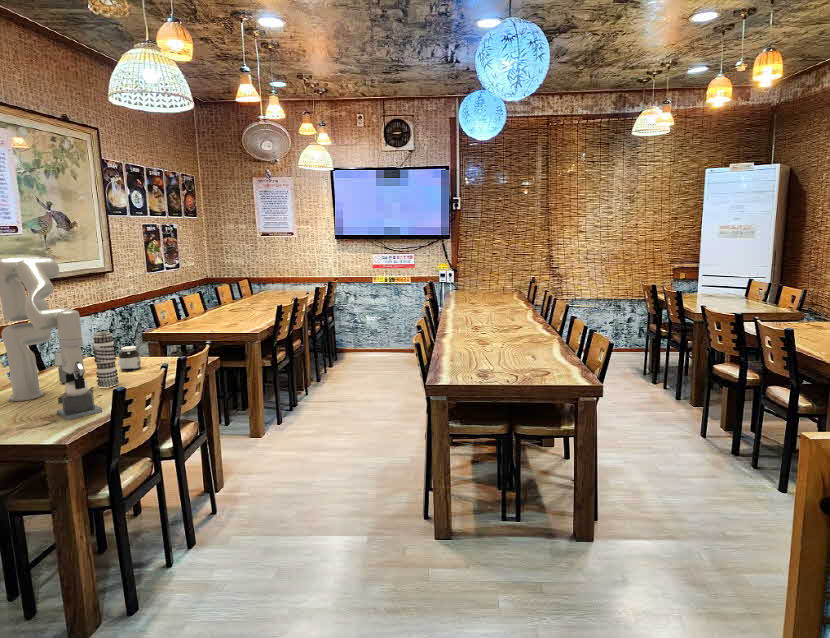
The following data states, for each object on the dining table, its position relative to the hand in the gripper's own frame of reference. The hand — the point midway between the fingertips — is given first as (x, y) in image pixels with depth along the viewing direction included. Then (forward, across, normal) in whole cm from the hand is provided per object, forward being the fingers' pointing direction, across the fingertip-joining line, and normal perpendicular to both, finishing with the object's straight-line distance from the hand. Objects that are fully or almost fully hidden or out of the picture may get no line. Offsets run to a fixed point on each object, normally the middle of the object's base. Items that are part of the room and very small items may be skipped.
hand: (75, 386), depth 213 cm
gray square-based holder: (+11, +1, 0) cm, 11 cm away
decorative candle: (+11, -31, +22) cm, 40 cm away
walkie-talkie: (+12, -24, +7) cm, 28 cm away
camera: (+12, -55, +15) cm, 59 cm away
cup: (+6, +1, 0) cm, 6 cm away
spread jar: (+12, -57, +41) cm, 71 cm away
